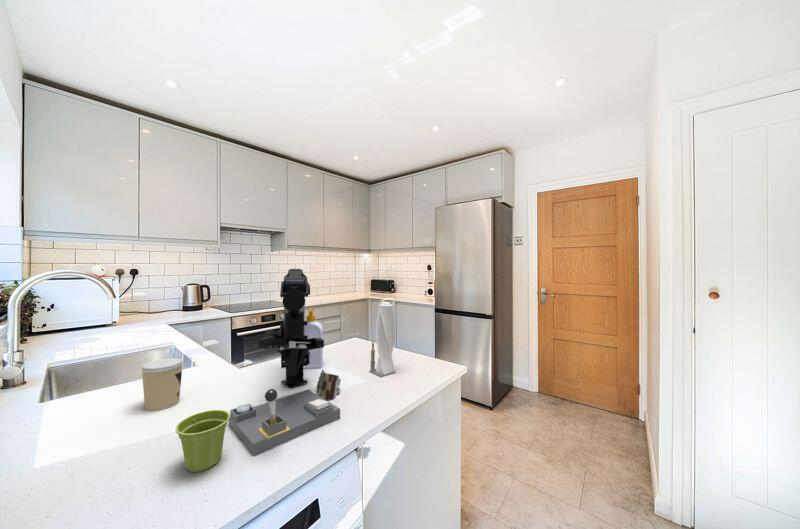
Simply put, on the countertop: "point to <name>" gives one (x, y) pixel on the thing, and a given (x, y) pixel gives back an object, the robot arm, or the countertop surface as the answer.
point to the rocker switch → (318, 404)
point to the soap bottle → (314, 331)
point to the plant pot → (202, 438)
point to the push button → (243, 409)
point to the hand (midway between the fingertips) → (293, 375)
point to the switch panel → (280, 421)
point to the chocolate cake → (328, 386)
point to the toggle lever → (272, 405)
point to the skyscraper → (384, 340)
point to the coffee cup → (162, 383)
